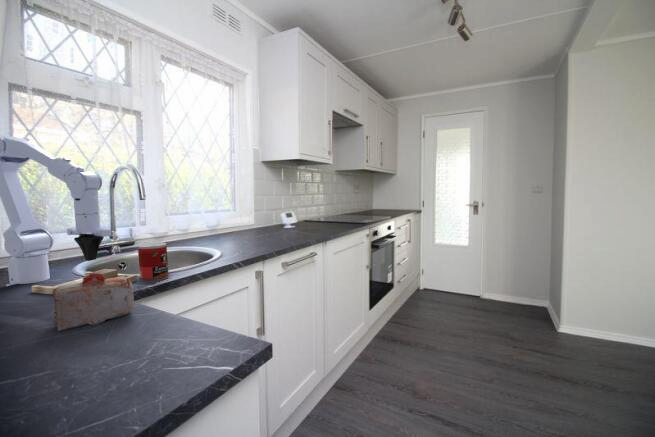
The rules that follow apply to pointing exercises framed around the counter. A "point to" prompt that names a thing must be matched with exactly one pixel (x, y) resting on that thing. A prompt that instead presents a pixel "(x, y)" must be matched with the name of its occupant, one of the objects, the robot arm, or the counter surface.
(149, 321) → the counter surface
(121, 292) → the food item
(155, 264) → the canned food
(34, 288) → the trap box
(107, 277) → the beige cube
